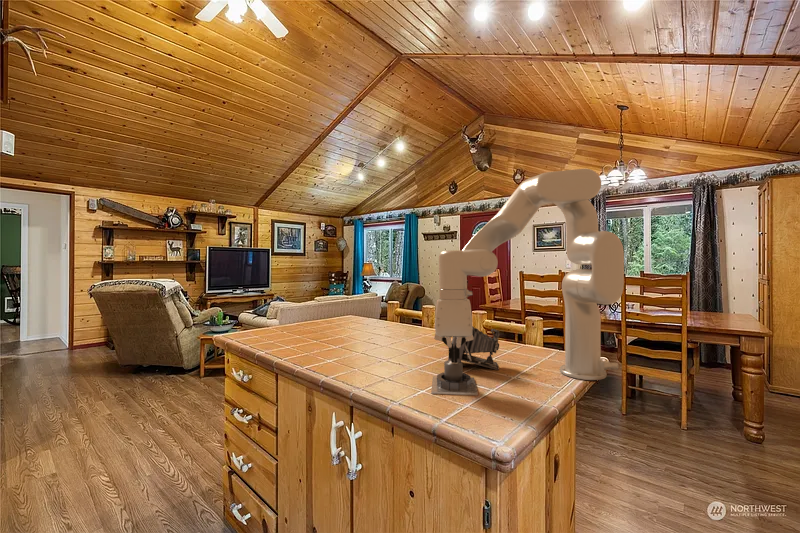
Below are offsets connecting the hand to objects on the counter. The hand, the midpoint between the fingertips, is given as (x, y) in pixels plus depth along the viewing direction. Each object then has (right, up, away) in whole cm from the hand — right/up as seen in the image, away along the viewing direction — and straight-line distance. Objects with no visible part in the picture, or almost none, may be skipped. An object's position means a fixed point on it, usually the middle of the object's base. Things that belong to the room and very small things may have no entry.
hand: (454, 361), depth 99 cm
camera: (+9, -7, +19) cm, 22 cm away
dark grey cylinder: (0, -7, 0) cm, 7 cm away
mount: (0, -7, 0) cm, 7 cm away
